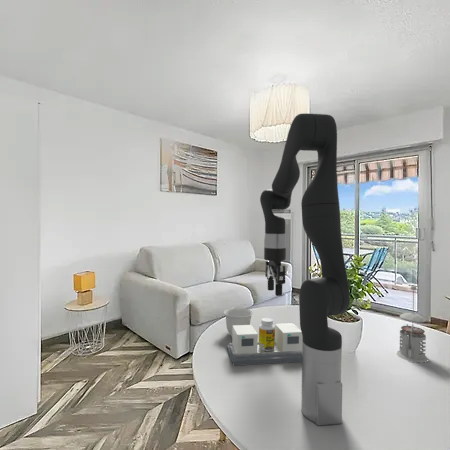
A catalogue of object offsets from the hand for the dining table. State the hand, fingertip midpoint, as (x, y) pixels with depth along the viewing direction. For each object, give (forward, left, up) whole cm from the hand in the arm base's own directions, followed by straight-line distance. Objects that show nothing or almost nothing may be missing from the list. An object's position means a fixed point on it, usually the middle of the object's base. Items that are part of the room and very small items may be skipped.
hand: (274, 292), depth 105 cm
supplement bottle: (+1, +2, -20) cm, 20 cm away
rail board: (+1, +2, -22) cm, 22 cm away
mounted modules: (+1, +2, -20) cm, 20 cm away
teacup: (+20, +9, -22) cm, 31 cm away
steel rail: (+1, +2, -21) cm, 21 cm away
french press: (-7, -48, -22) cm, 54 cm away
